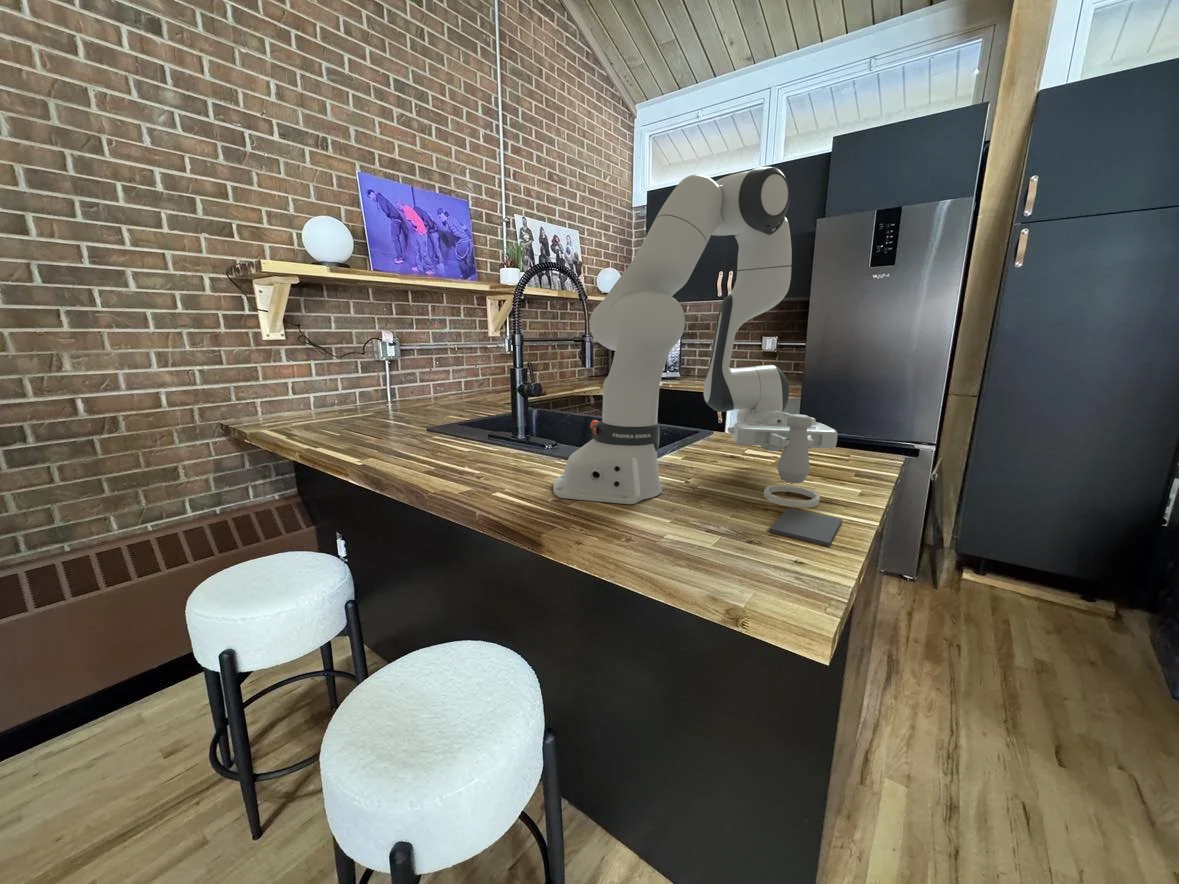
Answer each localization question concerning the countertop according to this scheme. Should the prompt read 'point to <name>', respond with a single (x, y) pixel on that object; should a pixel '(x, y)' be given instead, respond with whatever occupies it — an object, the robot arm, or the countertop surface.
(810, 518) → the rubber mat
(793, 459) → the salt shaker
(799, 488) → the ceramic ring
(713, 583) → the countertop surface
